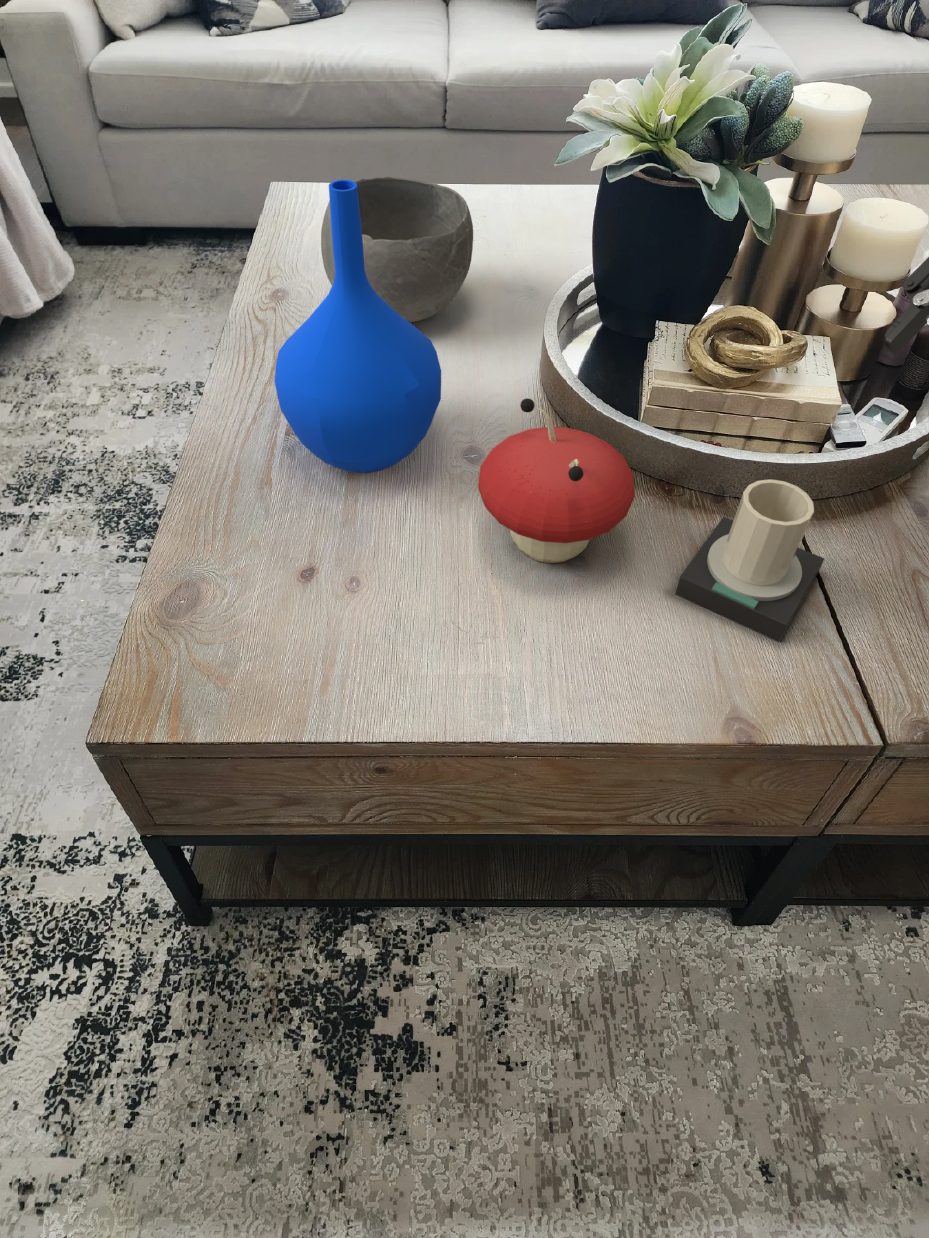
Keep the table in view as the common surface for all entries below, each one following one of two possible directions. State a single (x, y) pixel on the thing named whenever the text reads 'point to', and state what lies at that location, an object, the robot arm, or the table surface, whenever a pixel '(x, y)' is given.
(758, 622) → the kitchen scale
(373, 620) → the table surface
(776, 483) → the beige cup
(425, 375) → the vase
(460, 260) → the bowl
